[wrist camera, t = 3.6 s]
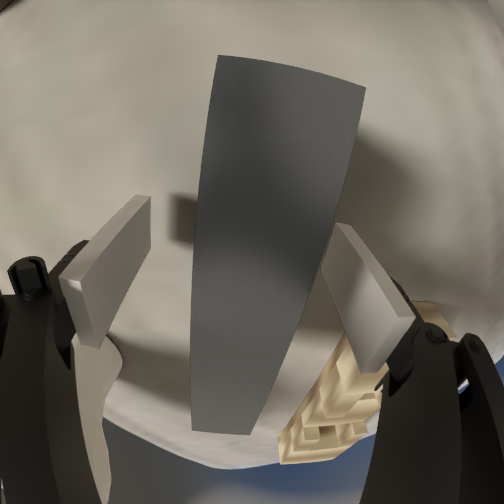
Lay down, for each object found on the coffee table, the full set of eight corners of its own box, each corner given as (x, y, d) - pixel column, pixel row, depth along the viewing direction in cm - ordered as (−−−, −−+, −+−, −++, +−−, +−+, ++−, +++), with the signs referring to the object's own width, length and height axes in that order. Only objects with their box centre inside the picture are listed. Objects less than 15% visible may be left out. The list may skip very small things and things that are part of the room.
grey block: (234, 89, 10) (217, 54, 4) (291, 98, 11) (365, 87, 4) (206, 313, 17) (192, 430, 10) (246, 318, 17) (249, 435, 10)
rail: (361, 298, 17) (383, 342, 13) (432, 302, 17) (457, 337, 14) (277, 437, 28) (280, 464, 25) (327, 434, 29) (332, 459, 26)
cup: (154, 342, 18) (114, 540, 5) (125, 393, 23) (98, 522, 10) (35, 276, 15) (-61, 437, 2) (37, 346, 19) (-13, 464, 6)
